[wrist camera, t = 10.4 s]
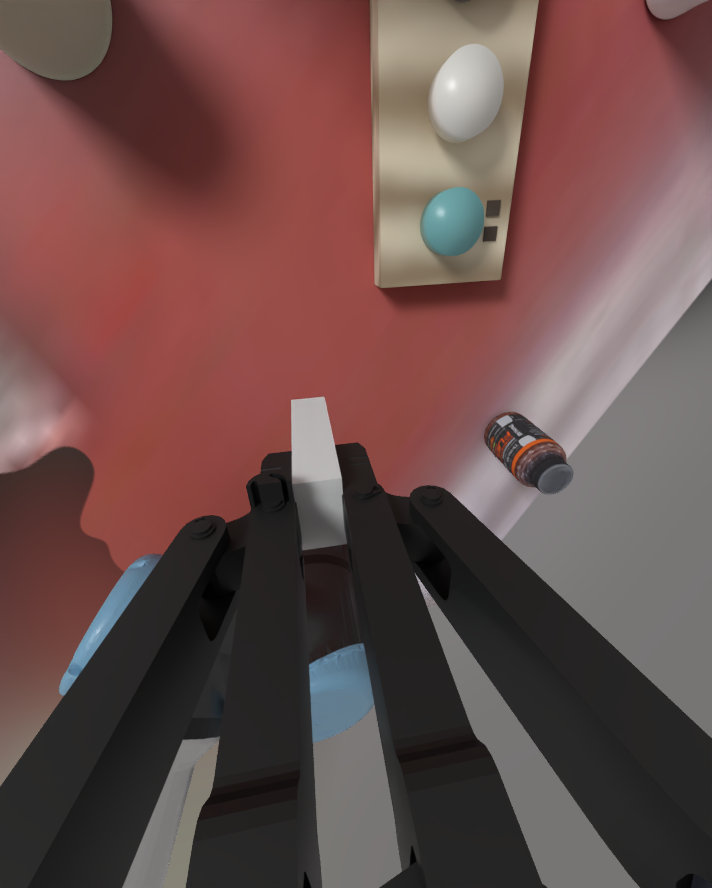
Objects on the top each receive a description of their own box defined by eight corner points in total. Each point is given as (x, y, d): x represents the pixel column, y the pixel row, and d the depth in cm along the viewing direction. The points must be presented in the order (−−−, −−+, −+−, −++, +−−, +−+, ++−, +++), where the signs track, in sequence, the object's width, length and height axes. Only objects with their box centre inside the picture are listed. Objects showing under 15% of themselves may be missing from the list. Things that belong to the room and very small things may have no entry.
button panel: (486, 276, 39) (501, 279, 36) (374, 284, 38) (381, 288, 35) (534, -126, 26) (563, -169, 23) (367, -136, 25) (376, -182, 22)
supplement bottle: (484, 413, 47) (535, 460, 38) (528, 407, 48) (589, 451, 38) (480, 453, 50) (526, 505, 41) (521, 447, 51) (576, 497, 41)
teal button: (471, 253, 35) (480, 254, 33) (419, 256, 34) (425, 257, 32) (477, 188, 32) (487, 185, 30) (421, 190, 31) (428, 188, 30)
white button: (486, 142, 30) (498, 136, 28) (426, 143, 29) (434, 138, 28) (494, 56, 27) (508, 44, 26) (429, 56, 27) (439, 43, 25)
